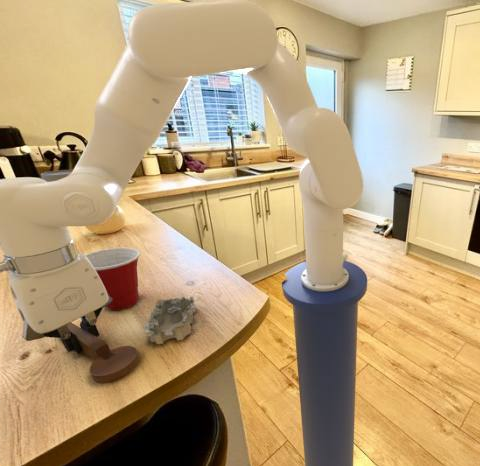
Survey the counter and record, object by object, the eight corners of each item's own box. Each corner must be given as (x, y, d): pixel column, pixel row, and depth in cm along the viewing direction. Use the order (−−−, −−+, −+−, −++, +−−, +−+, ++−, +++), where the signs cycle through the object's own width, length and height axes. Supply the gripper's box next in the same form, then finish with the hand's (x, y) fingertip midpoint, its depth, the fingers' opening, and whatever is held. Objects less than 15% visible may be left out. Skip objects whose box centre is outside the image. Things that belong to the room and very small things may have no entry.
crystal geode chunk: (190, 340, 55) (185, 323, 53) (144, 348, 53) (138, 330, 51) (199, 306, 64) (196, 290, 63) (161, 312, 62) (156, 296, 60)
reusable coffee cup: (48, 211, 121) (33, 176, 115) (60, 203, 131) (47, 170, 126) (85, 208, 126) (73, 174, 120) (95, 200, 136) (84, 169, 130)
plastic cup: (159, 301, 66) (146, 254, 61) (99, 325, 58) (78, 274, 53) (144, 283, 72) (131, 240, 67) (89, 303, 65) (69, 255, 60)
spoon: (44, 346, 53) (37, 332, 52) (85, 324, 58) (80, 312, 57) (106, 389, 45) (99, 374, 44) (148, 359, 50) (143, 345, 49)
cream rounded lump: (81, 239, 96) (69, 208, 92) (96, 226, 106) (86, 198, 102) (121, 235, 100) (112, 205, 95) (132, 223, 110) (124, 196, 106)
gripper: (-21, 288, 37) (37, 388, 45) (114, 243, 51) (142, 326, 58) (-42, 274, 40) (15, 370, 48) (91, 235, 54) (120, 315, 61)
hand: (84, 345), depth 53 cm, fingers closed on spoon
